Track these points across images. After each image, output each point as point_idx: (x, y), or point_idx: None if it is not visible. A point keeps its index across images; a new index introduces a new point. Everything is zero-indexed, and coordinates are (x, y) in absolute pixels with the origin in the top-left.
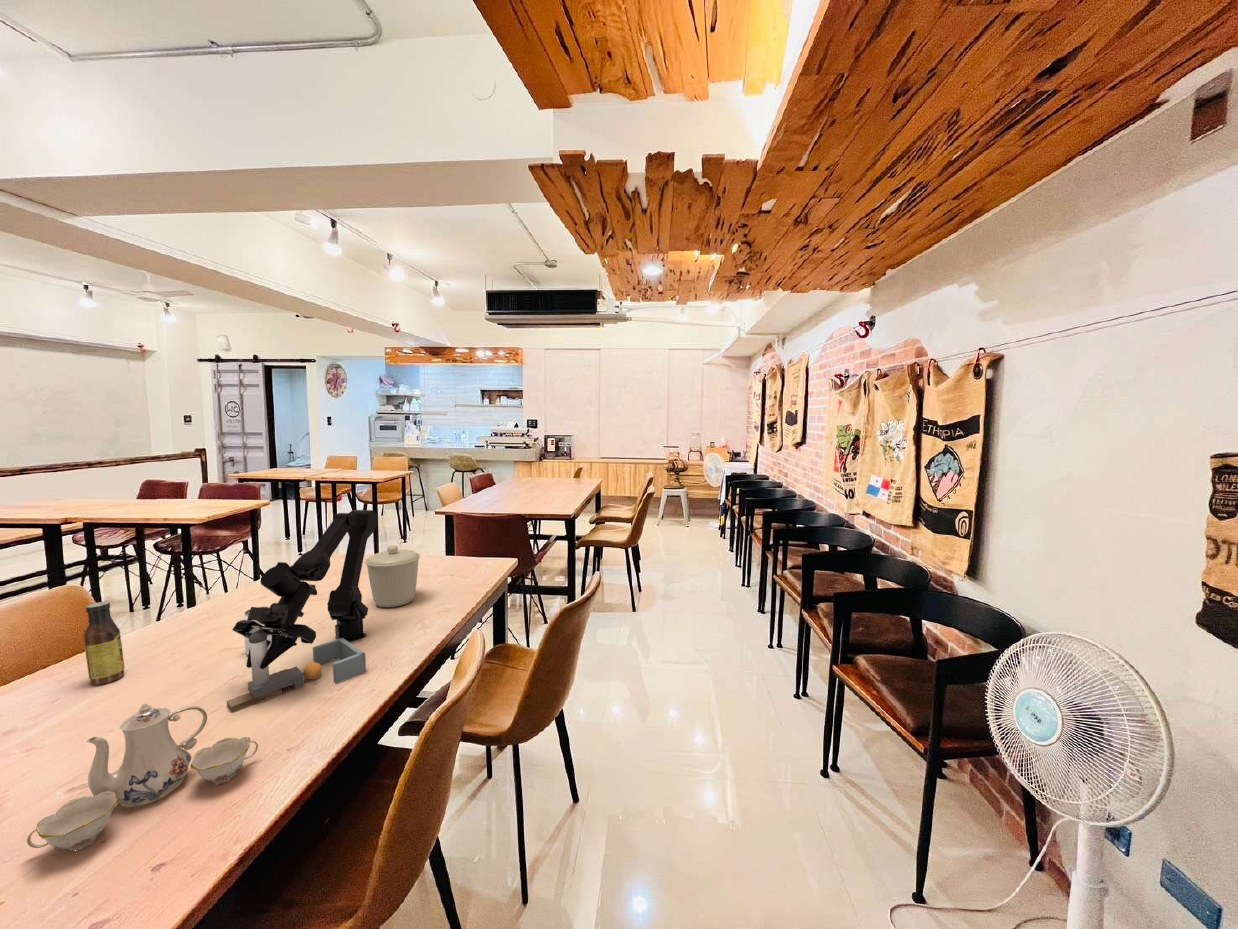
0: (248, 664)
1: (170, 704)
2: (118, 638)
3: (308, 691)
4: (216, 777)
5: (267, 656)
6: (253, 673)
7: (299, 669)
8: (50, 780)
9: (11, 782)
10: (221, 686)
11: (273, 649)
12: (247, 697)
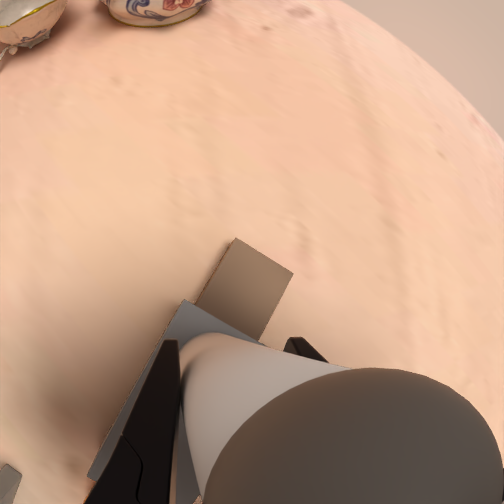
0: (294, 346)
1: (444, 261)
2: None
3: (51, 416)
4: (25, 1)
5: (141, 406)
6: (232, 337)
7: None
8: (366, 36)
9: (408, 47)
10: None
11: (106, 470)
12: (228, 309)
